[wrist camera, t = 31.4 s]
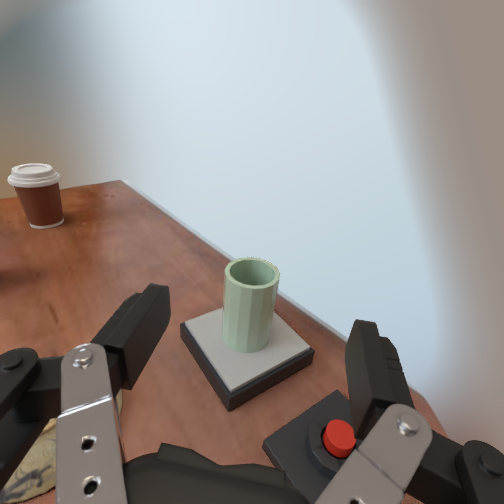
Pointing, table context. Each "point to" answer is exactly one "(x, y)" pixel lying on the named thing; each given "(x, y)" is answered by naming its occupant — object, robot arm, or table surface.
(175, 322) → the table surface
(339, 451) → the button
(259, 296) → the cup
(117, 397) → the decorative bowl
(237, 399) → the scale
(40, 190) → the coffee cup
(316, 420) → the panel
